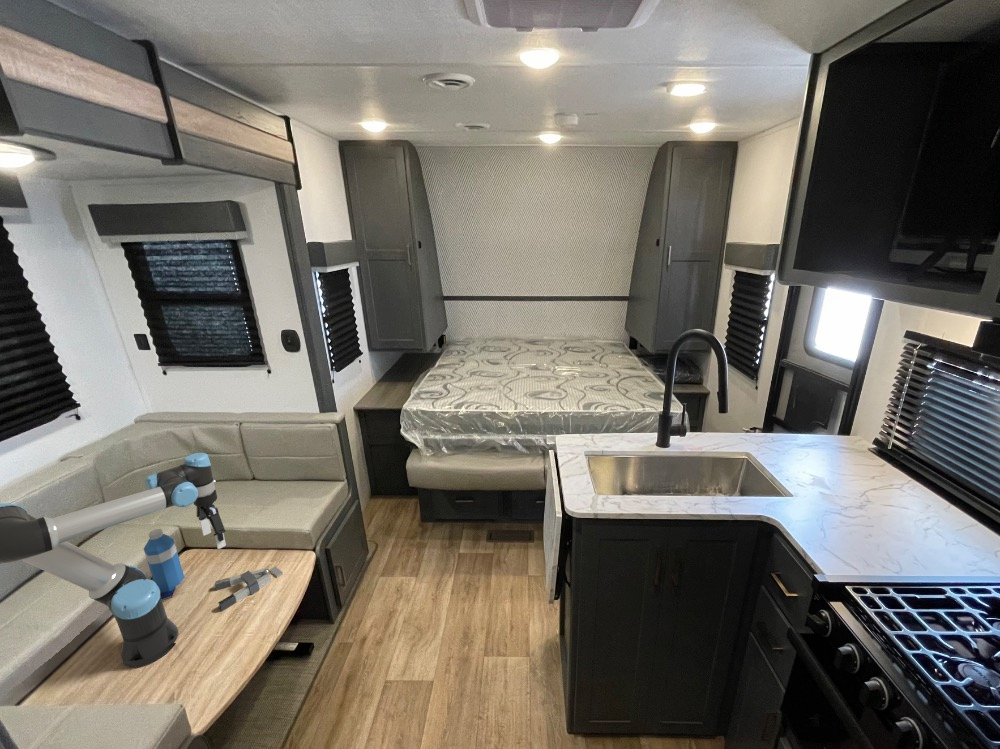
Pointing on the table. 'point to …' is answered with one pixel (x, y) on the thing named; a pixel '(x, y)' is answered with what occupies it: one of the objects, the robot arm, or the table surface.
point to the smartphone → (167, 595)
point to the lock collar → (250, 581)
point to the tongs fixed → (247, 590)
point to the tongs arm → (238, 579)
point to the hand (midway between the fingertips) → (214, 540)
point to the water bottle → (163, 561)
